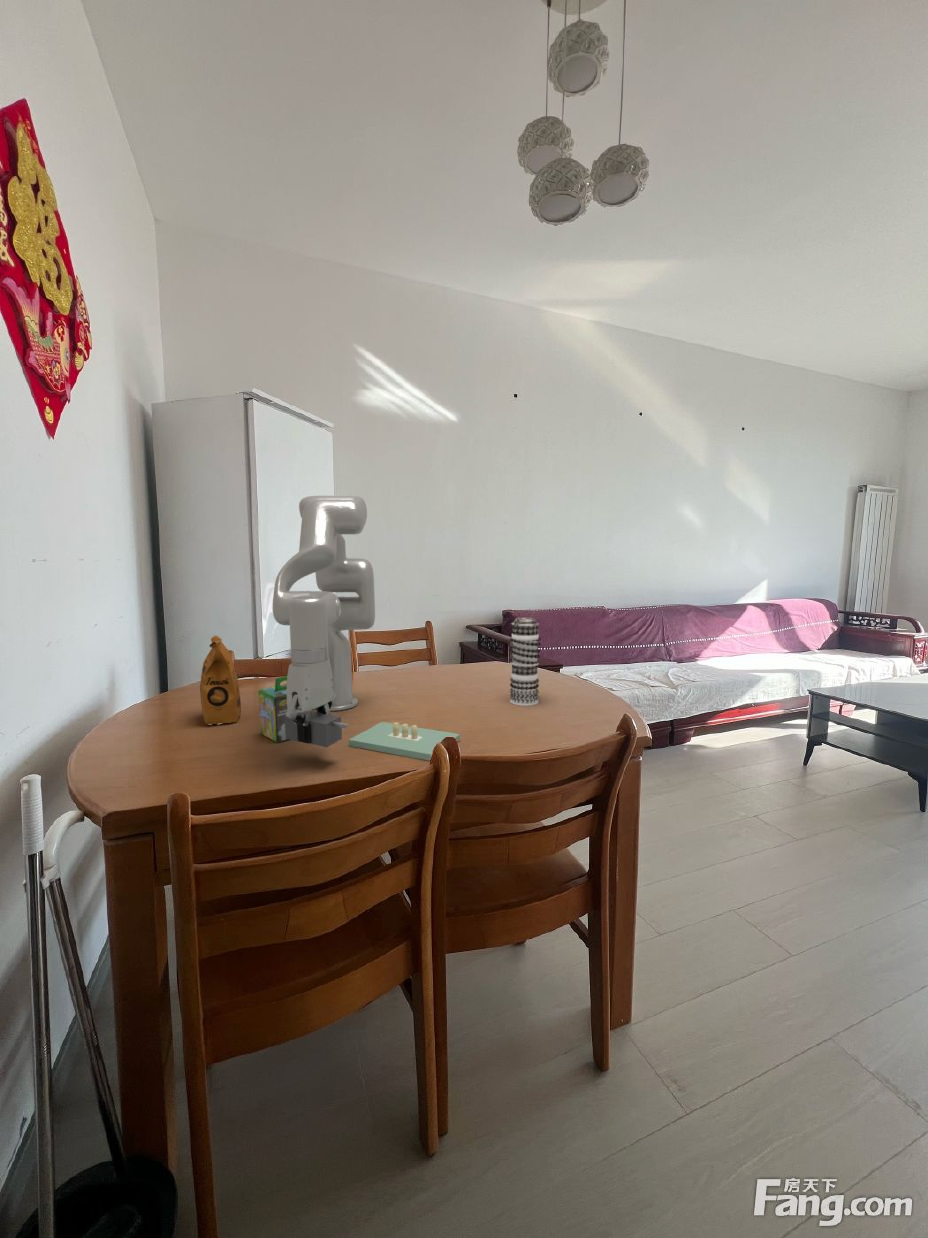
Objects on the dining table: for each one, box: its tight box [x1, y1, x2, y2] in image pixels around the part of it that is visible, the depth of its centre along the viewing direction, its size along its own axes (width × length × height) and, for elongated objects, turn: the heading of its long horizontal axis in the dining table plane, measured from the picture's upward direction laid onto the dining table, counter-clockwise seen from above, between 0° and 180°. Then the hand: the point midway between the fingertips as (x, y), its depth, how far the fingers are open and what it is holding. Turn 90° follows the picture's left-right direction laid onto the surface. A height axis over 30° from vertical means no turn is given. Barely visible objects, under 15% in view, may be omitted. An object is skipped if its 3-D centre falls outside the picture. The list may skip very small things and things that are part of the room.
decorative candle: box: [509, 617, 542, 707], centre depth 159 cm, size 9×9×25 cm
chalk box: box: [257, 675, 290, 744], centre depth 132 cm, size 9×9×15 cm
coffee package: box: [199, 635, 242, 725], centre depth 144 cm, size 10×12×22 cm
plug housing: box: [285, 710, 349, 748], centre depth 115 cm, size 14×5×5 cm, turn 66°
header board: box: [348, 721, 461, 762], centre depth 127 cm, size 22×14×4 cm, turn 66°
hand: (313, 736), depth 116 cm, fingers closed on plug housing, 5 cm apart
